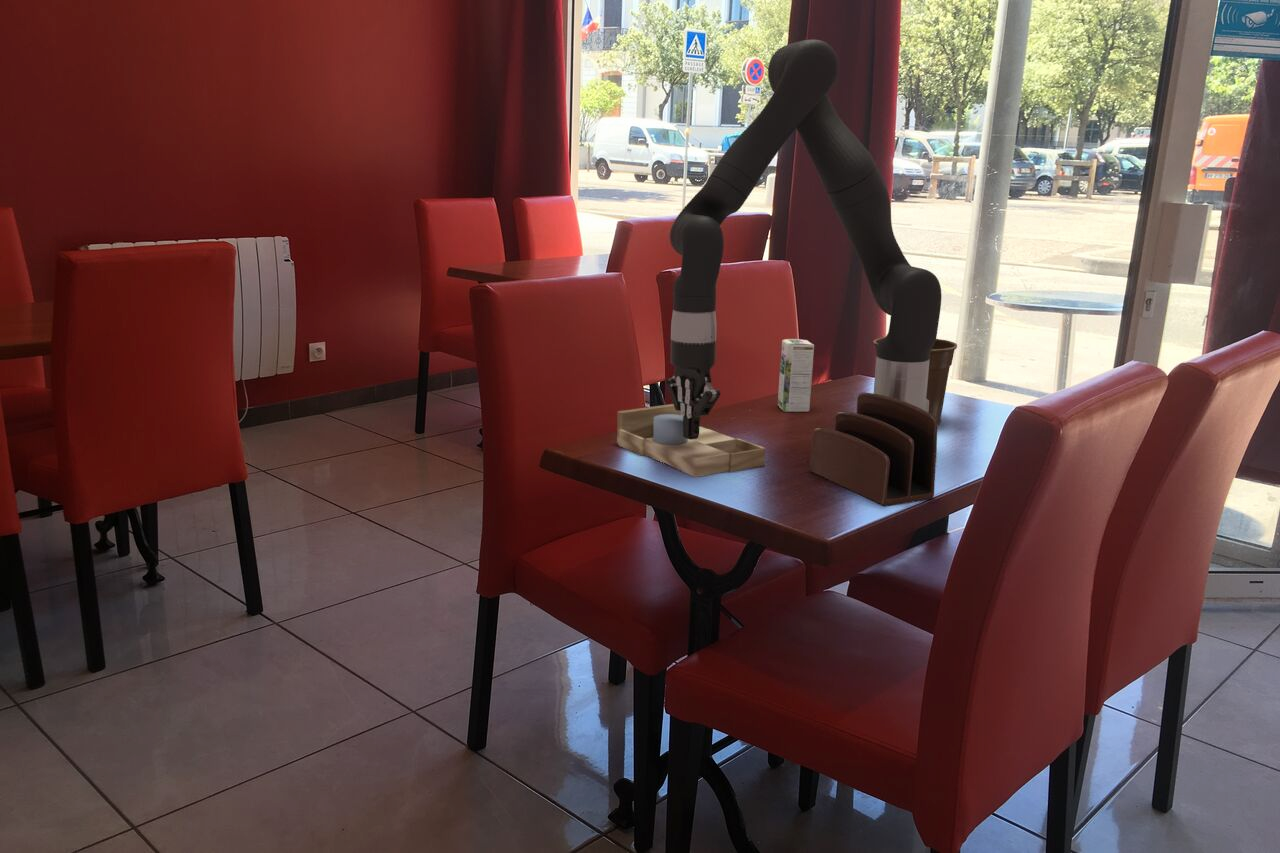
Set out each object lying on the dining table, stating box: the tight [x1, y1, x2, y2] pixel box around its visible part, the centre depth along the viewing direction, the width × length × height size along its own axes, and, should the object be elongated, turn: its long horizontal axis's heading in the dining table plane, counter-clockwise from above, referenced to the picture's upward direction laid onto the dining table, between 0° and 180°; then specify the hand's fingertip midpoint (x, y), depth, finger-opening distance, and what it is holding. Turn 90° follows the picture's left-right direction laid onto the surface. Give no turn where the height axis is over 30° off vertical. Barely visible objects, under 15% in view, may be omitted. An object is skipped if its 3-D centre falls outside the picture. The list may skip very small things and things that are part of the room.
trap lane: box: [616, 403, 766, 478], centre depth 183 cm, size 25×15×6 cm, turn 34°
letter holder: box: [809, 392, 939, 507], centre depth 166 cm, size 10×20×14 cm, turn 26°
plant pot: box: [872, 336, 958, 424], centre depth 209 cm, size 16×16×16 cm
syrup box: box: [777, 338, 815, 413], centre depth 217 cm, size 6×6×14 cm
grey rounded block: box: [653, 414, 688, 445], centre depth 180 cm, size 6×6×4 cm
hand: (690, 437), depth 176 cm, fingers closed
